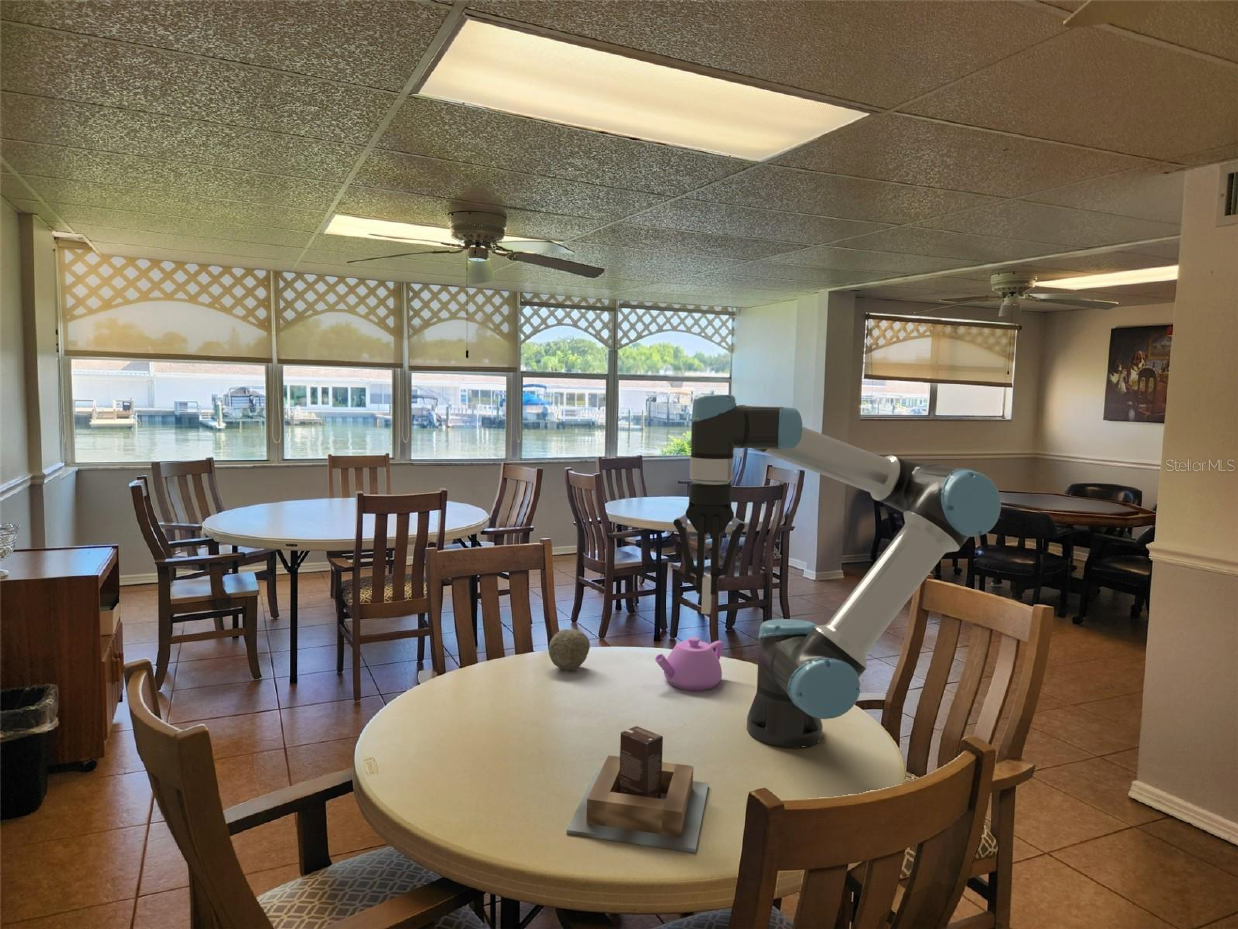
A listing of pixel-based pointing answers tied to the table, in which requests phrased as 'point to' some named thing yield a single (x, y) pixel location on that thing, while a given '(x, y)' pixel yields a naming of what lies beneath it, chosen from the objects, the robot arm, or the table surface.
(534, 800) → the table surface
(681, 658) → the teapot
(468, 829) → the table surface
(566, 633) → the decorative stone
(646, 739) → the box
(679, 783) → the socket
